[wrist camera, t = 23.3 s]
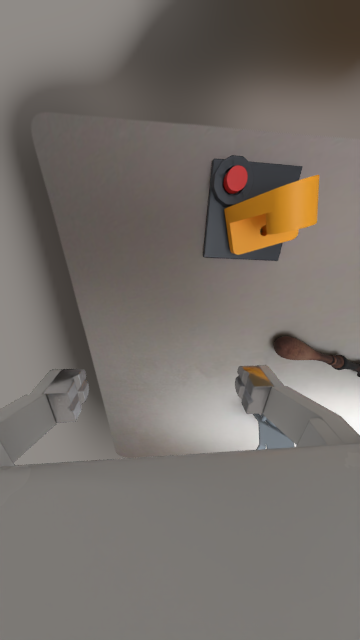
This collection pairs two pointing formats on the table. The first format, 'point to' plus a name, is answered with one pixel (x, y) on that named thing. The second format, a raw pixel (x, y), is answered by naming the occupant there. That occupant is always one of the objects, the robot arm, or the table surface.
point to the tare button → (235, 179)
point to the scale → (258, 182)
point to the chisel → (310, 354)
